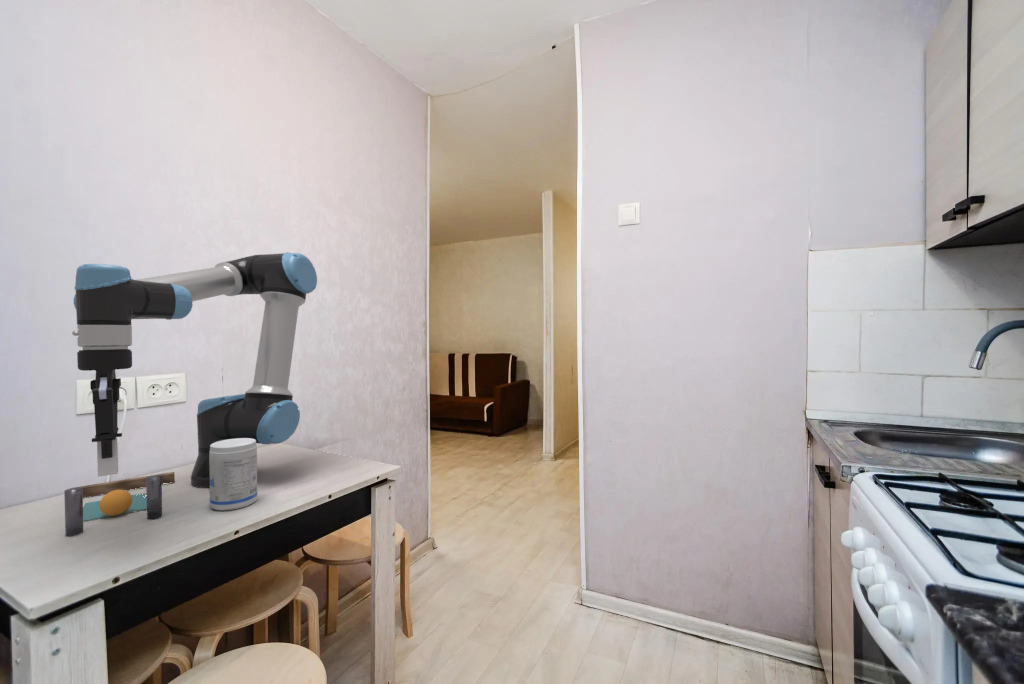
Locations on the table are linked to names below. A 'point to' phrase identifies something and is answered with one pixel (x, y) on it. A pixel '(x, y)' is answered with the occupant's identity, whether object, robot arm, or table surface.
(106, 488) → the brown wooden bar
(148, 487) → the right post
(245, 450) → the supplement tub
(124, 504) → the ball
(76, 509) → the left post
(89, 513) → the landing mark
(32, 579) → the table surface
